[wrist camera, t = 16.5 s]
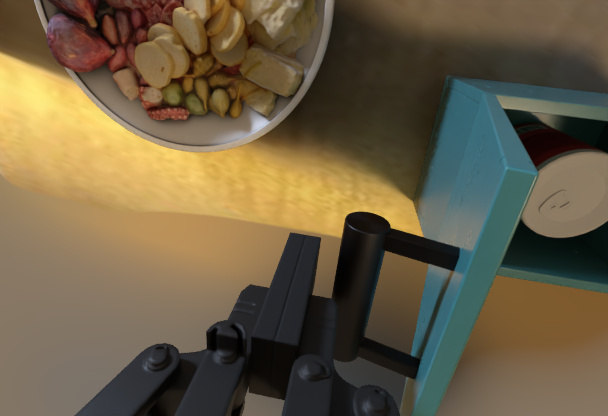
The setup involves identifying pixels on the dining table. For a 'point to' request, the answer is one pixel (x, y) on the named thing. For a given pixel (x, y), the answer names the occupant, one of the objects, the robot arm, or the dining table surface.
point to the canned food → (564, 183)
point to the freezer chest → (525, 243)
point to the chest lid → (439, 262)
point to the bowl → (191, 63)
